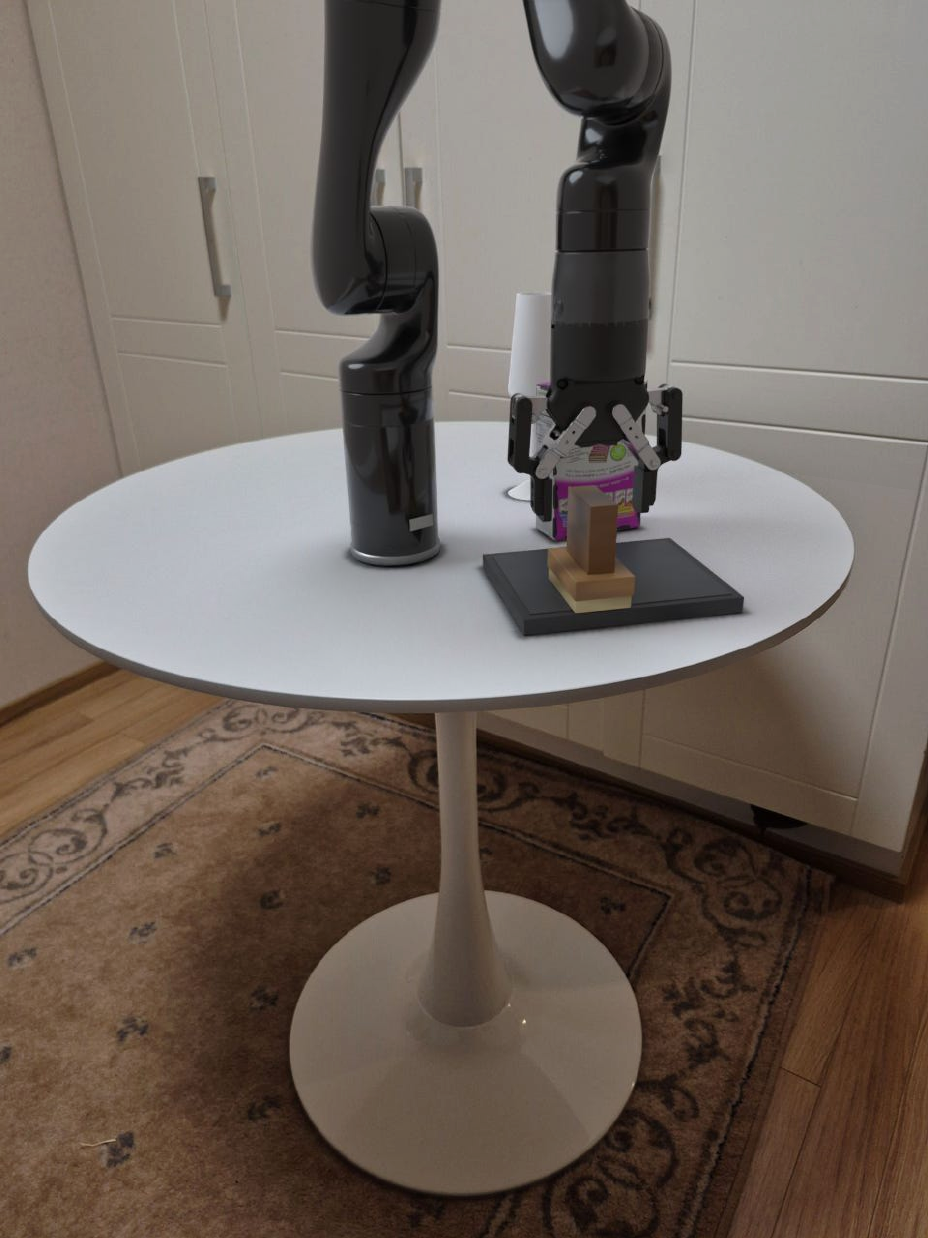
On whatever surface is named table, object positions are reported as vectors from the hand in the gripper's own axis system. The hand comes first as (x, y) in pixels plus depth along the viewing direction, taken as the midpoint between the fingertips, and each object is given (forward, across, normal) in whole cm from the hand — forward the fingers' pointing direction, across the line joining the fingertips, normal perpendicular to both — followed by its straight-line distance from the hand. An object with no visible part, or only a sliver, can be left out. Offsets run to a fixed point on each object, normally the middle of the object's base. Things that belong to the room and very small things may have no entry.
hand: (592, 515), depth 73 cm
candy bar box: (+9, -7, -22) cm, 24 cm away
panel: (+9, -3, -5) cm, 10 cm away
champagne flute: (+9, -5, -37) cm, 38 cm away
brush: (+7, 0, 0) cm, 7 cm away
